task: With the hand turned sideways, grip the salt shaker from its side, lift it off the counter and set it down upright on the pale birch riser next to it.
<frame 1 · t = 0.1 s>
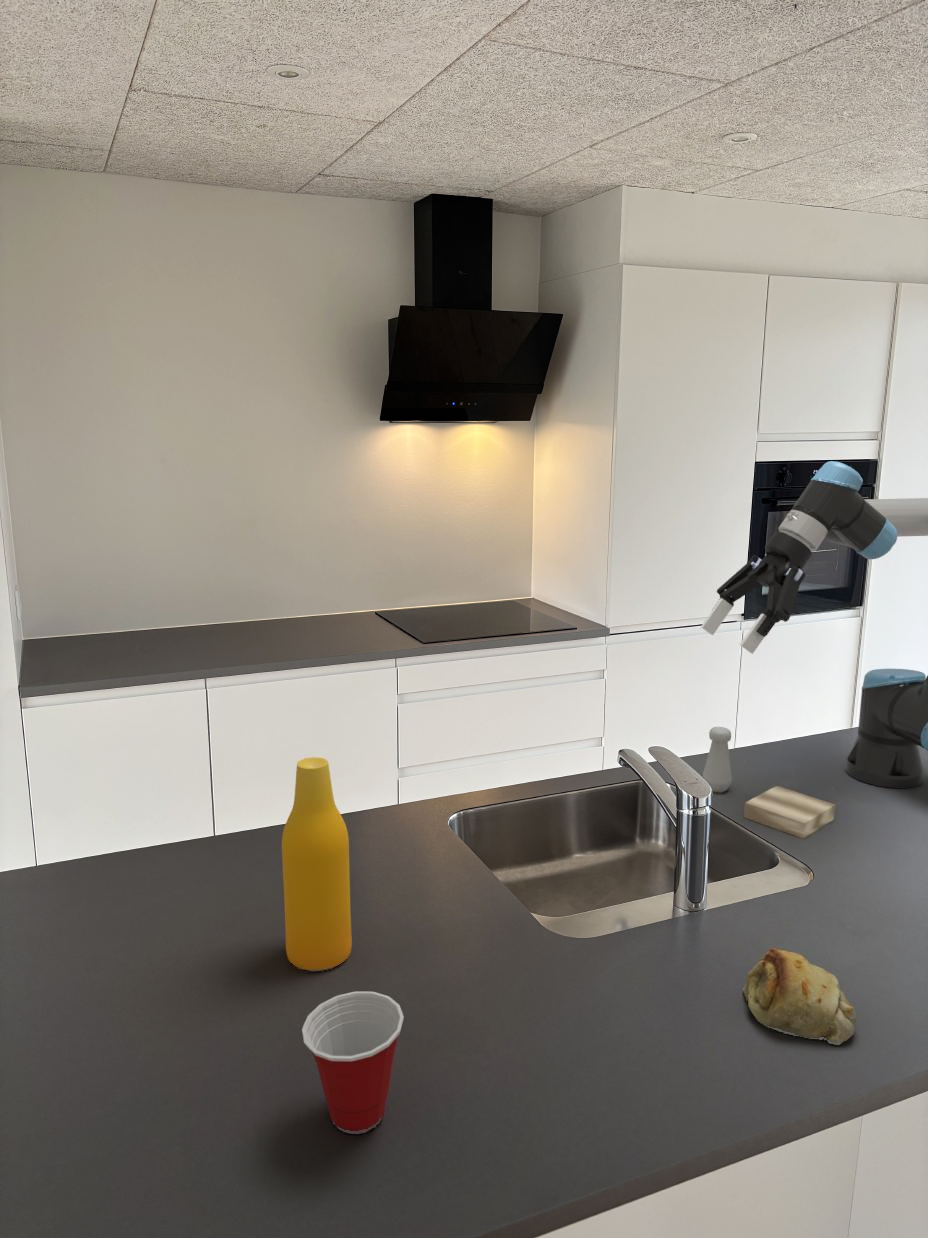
hand: (725, 640, 161), 36 cm above the counter, tool tilted 35°, fingers open, 13 cm apart
beer bottle: (319, 955, 128), on the counter
plastic cup: (355, 1117, 99), on the counter
salt shaker: (716, 789, 185), on the counter
pastry: (795, 1016, 116), on the counter
birch riser: (788, 818, 172), on the counter
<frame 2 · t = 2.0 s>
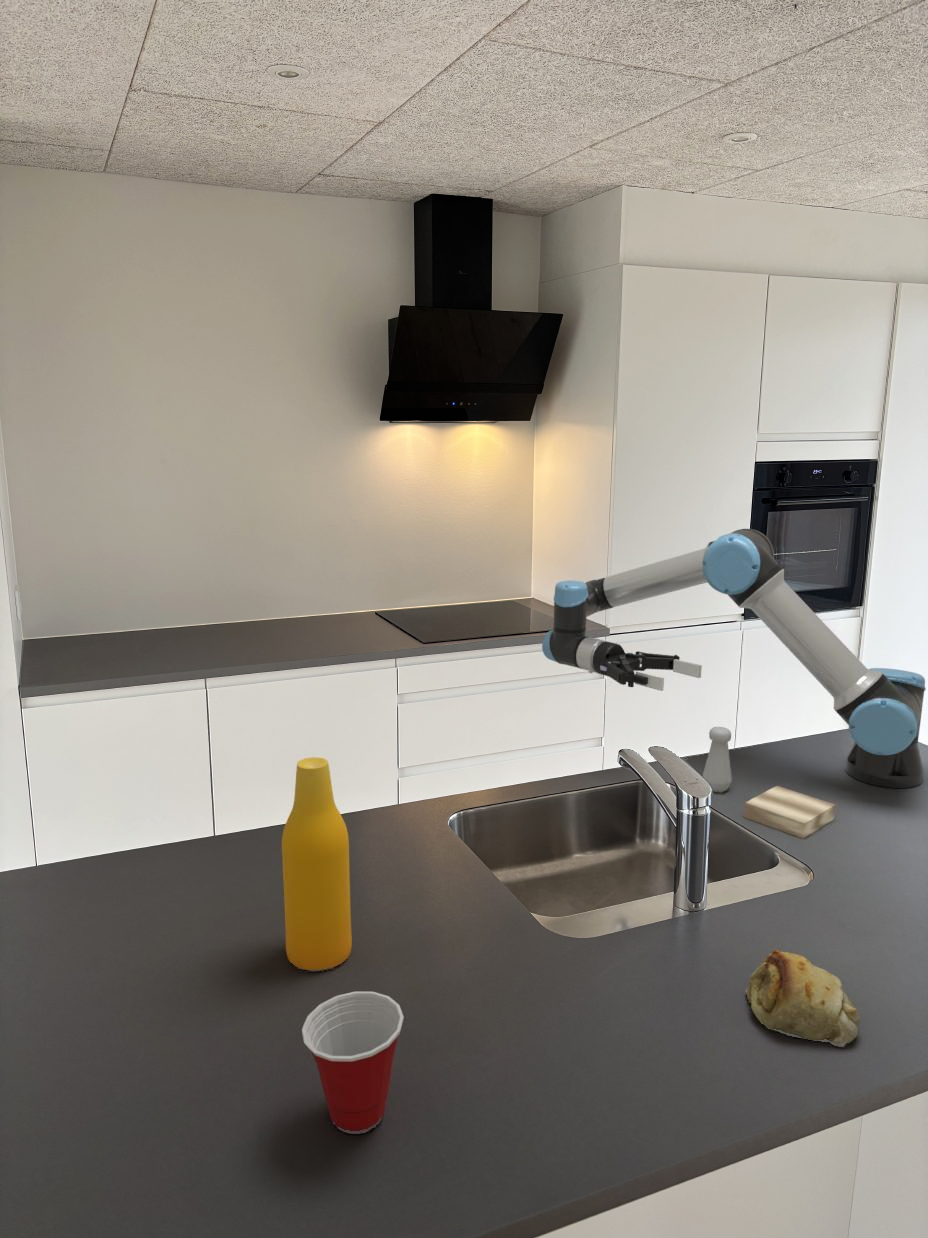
hand: (682, 677, 187), 22 cm above the counter, tool horizontal, fingers open, 13 cm apart
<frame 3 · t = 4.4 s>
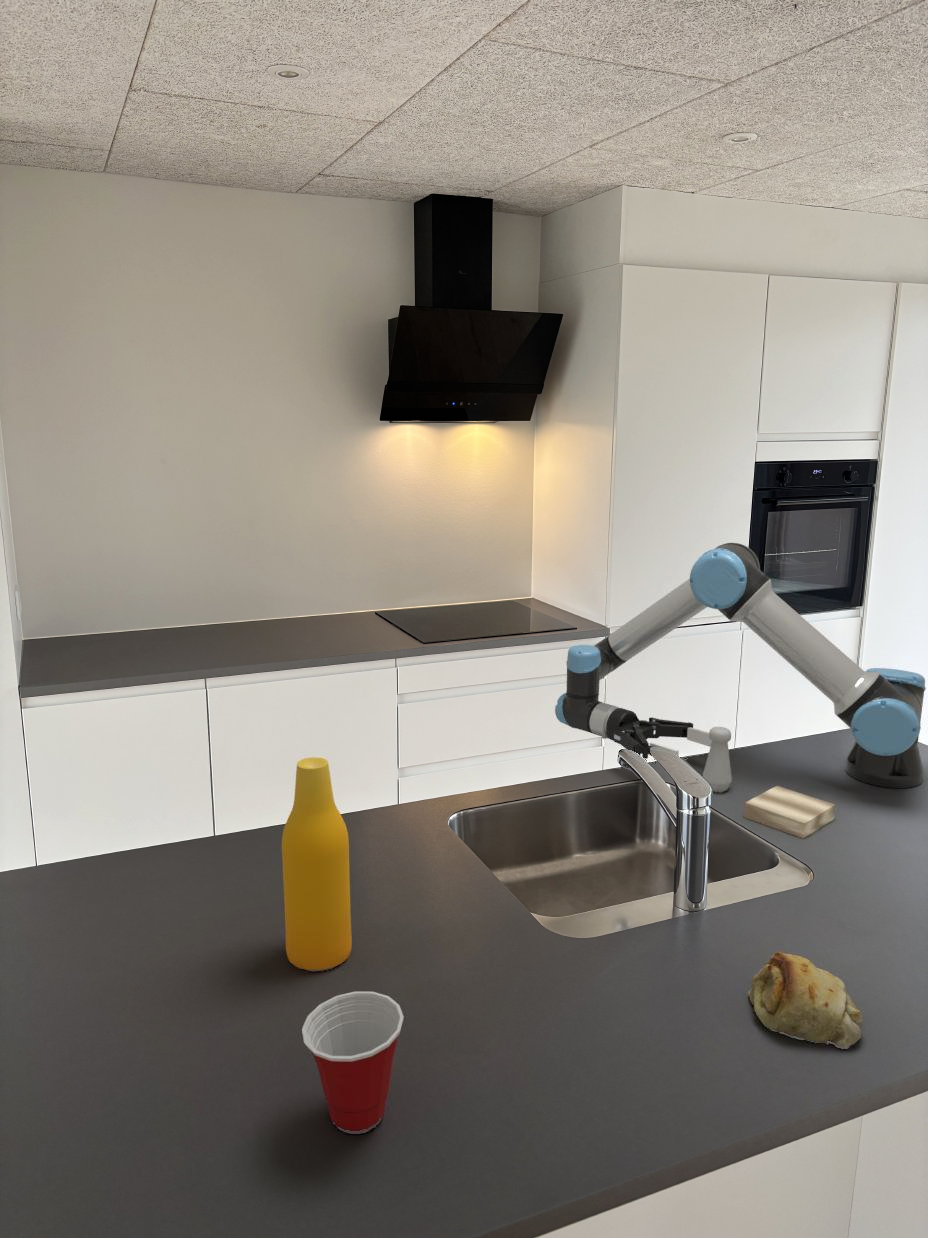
hand: (696, 749, 187), 7 cm above the counter, tool horizontal, fingers open, 13 cm apart
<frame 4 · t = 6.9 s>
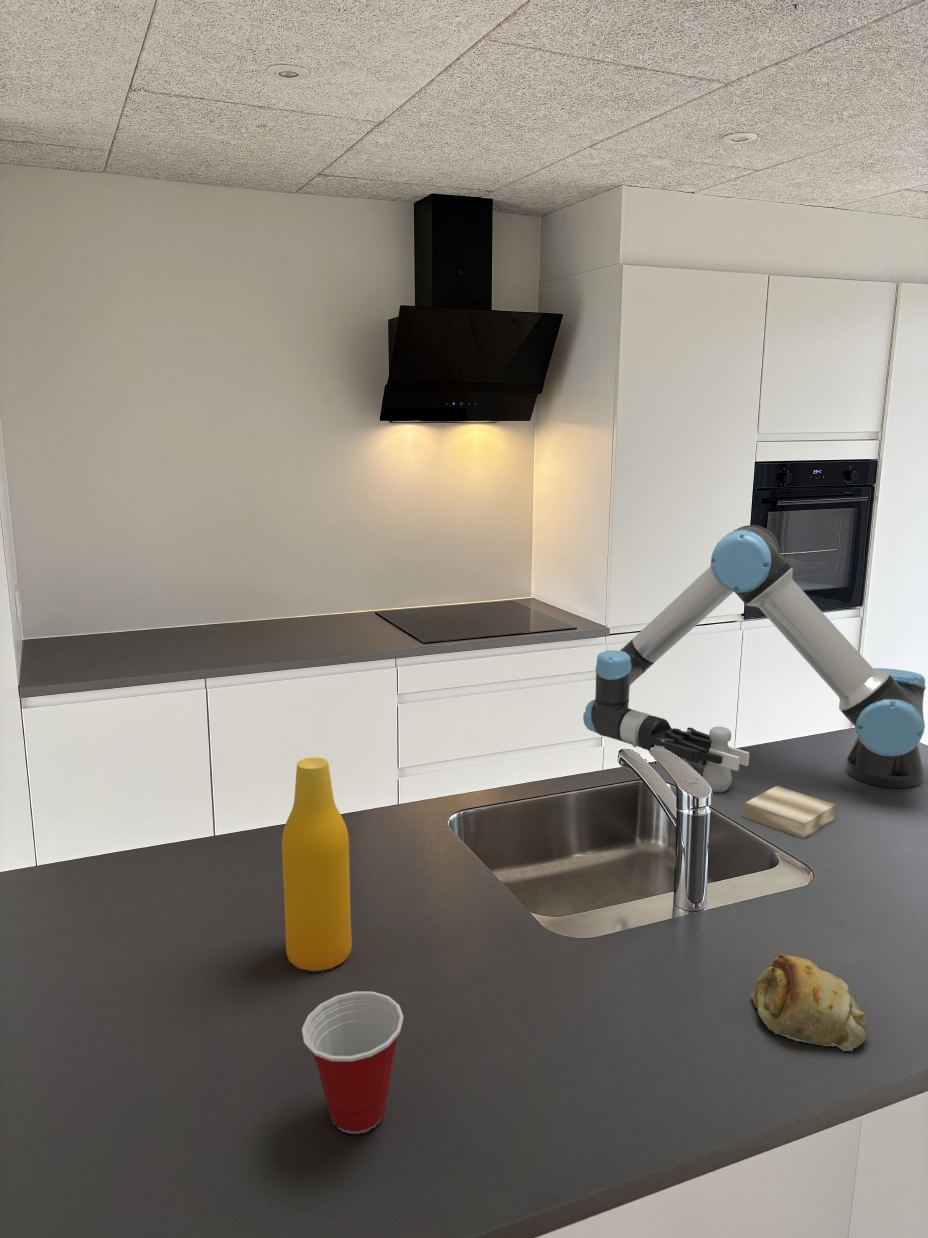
hand: (742, 761, 180), 8 cm above the counter, tool horizontal, fingers closed on salt shaker, 3 cm apart
salt shaker: (716, 789, 185), on the counter, touching gripper
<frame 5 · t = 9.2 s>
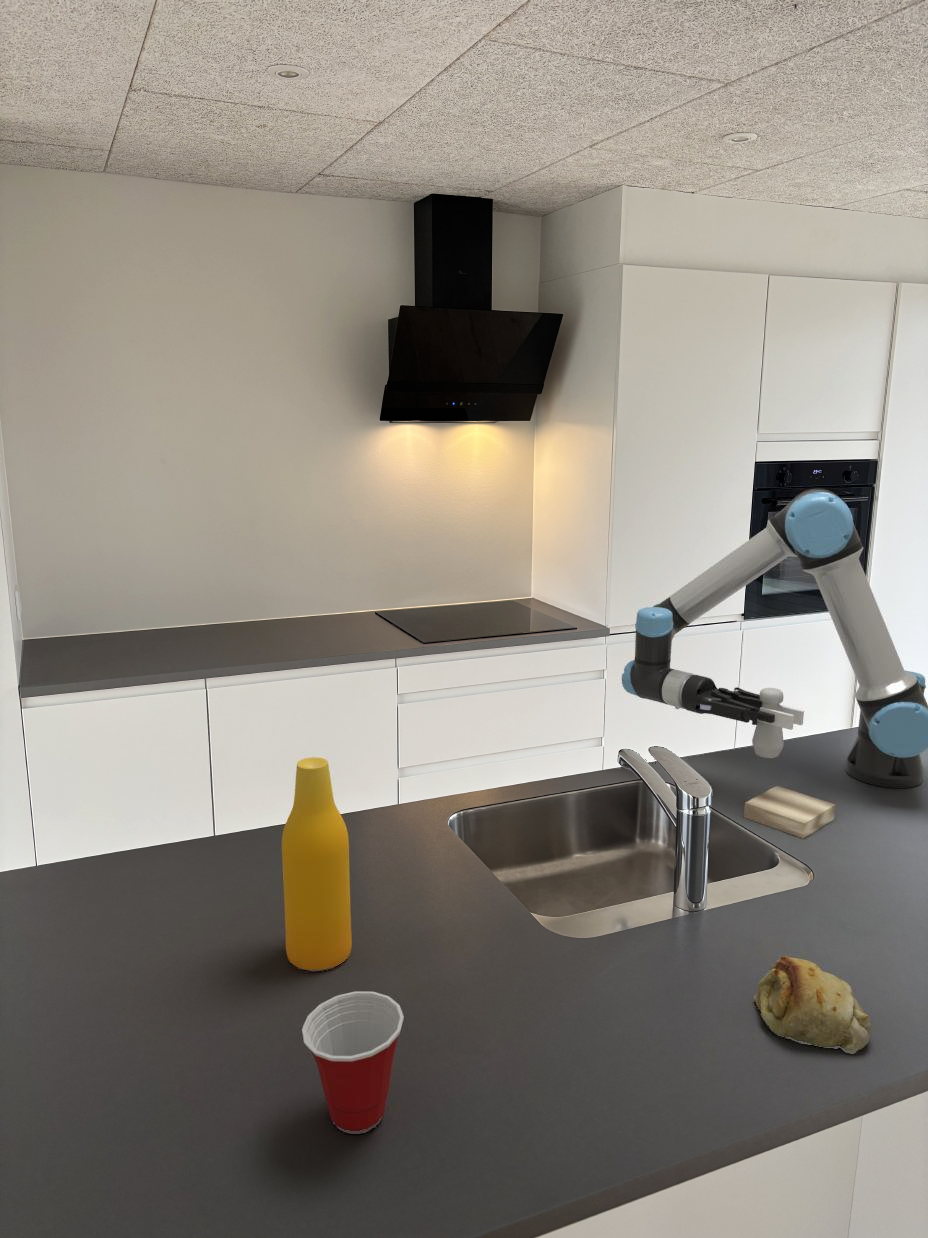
hand: (797, 720, 167), 20 cm above the counter, tool horizontal, fingers closed on salt shaker, 3 cm apart
salt shaker: (766, 755, 173), point 11 cm above the counter, touching gripper
when the fingers open (12 cm above the counter, at t = 11.7 s): salt shaker stays where it is, resting on birch riser.
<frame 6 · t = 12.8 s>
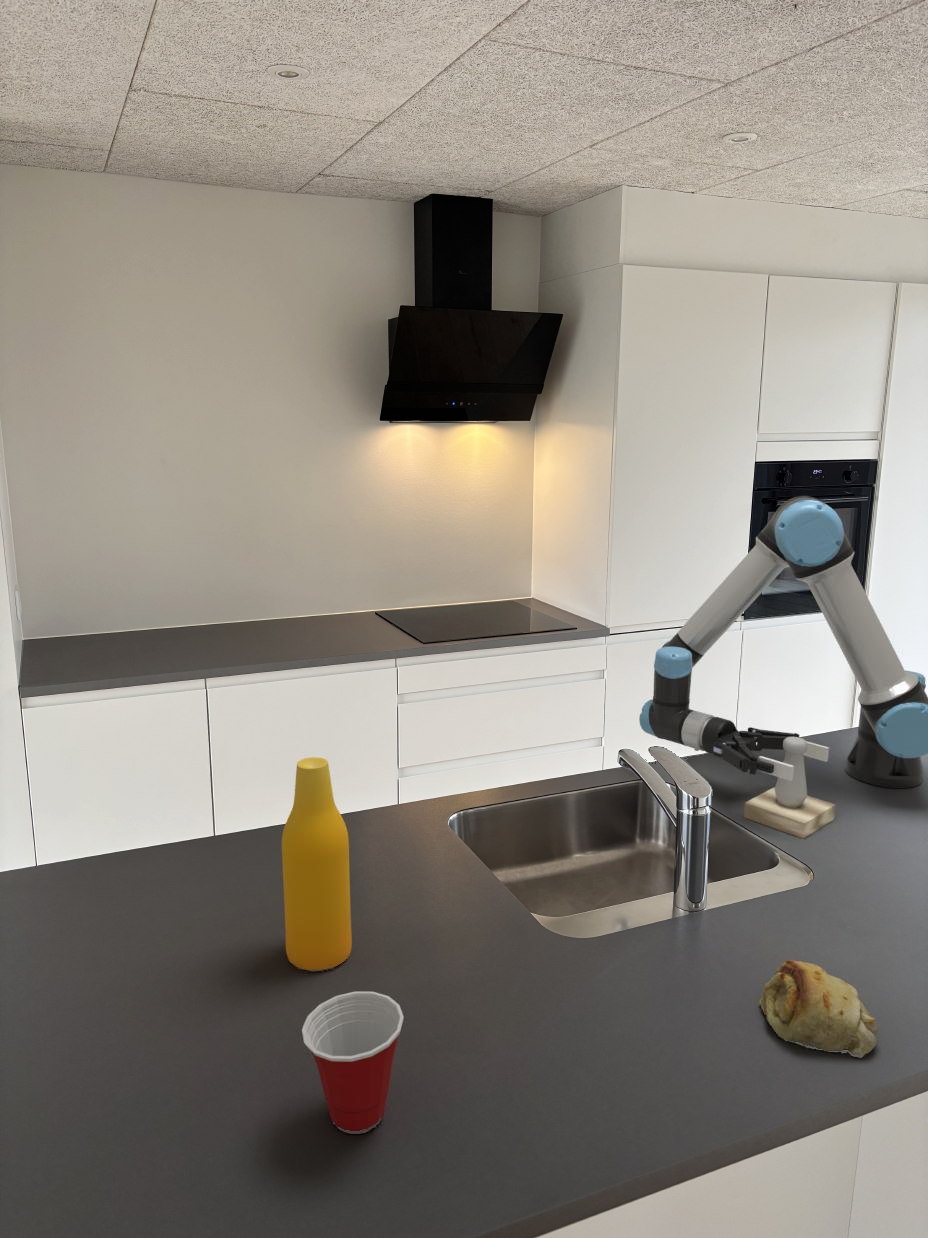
hand: (810, 763, 167), 12 cm above the counter, tool horizontal, fingers open, 13 cm apart
salt shaker: (789, 804, 171), point 3 cm above the counter, touching birch riser
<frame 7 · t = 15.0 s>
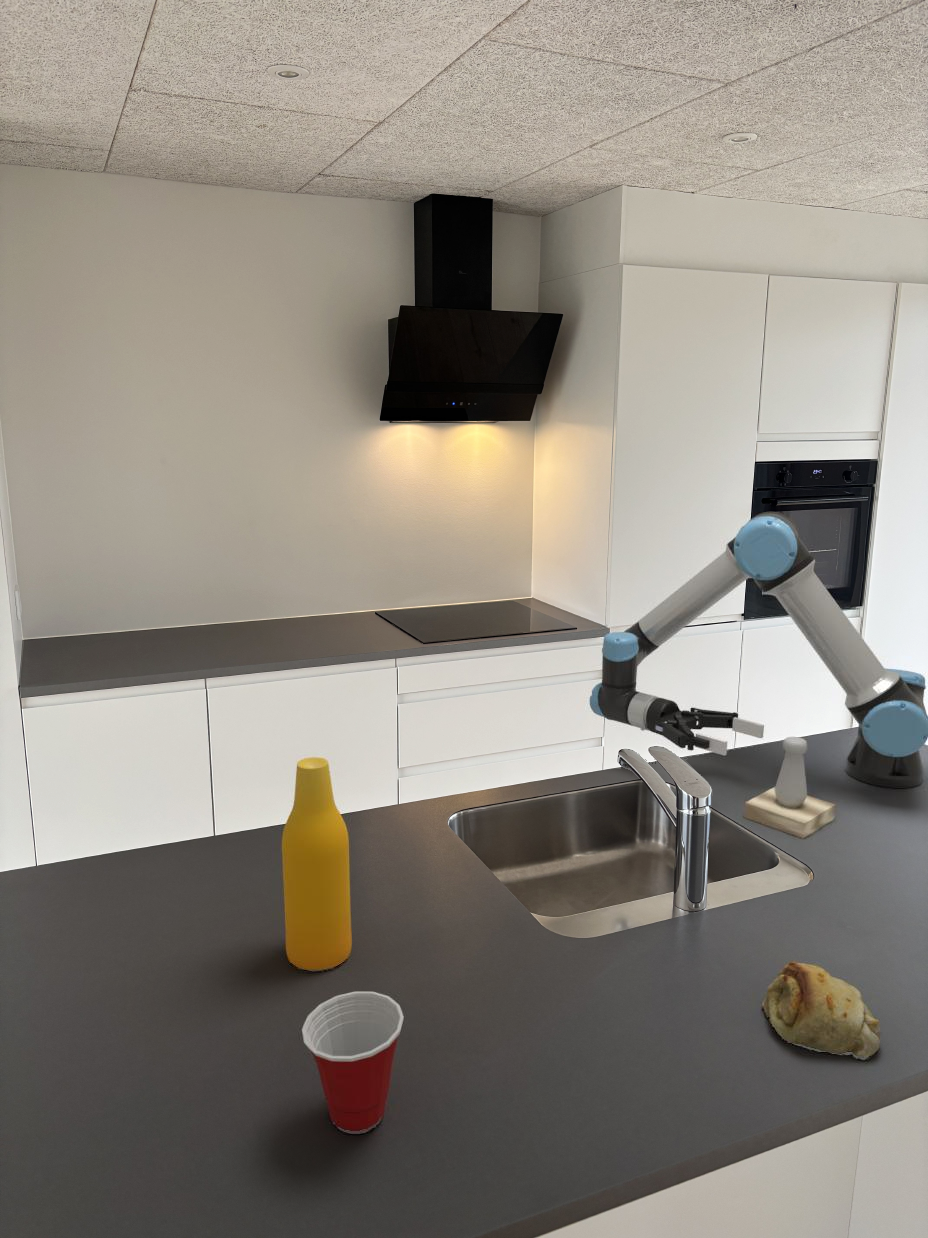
hand: (745, 740, 176), 13 cm above the counter, tool horizontal, fingers open, 13 cm apart
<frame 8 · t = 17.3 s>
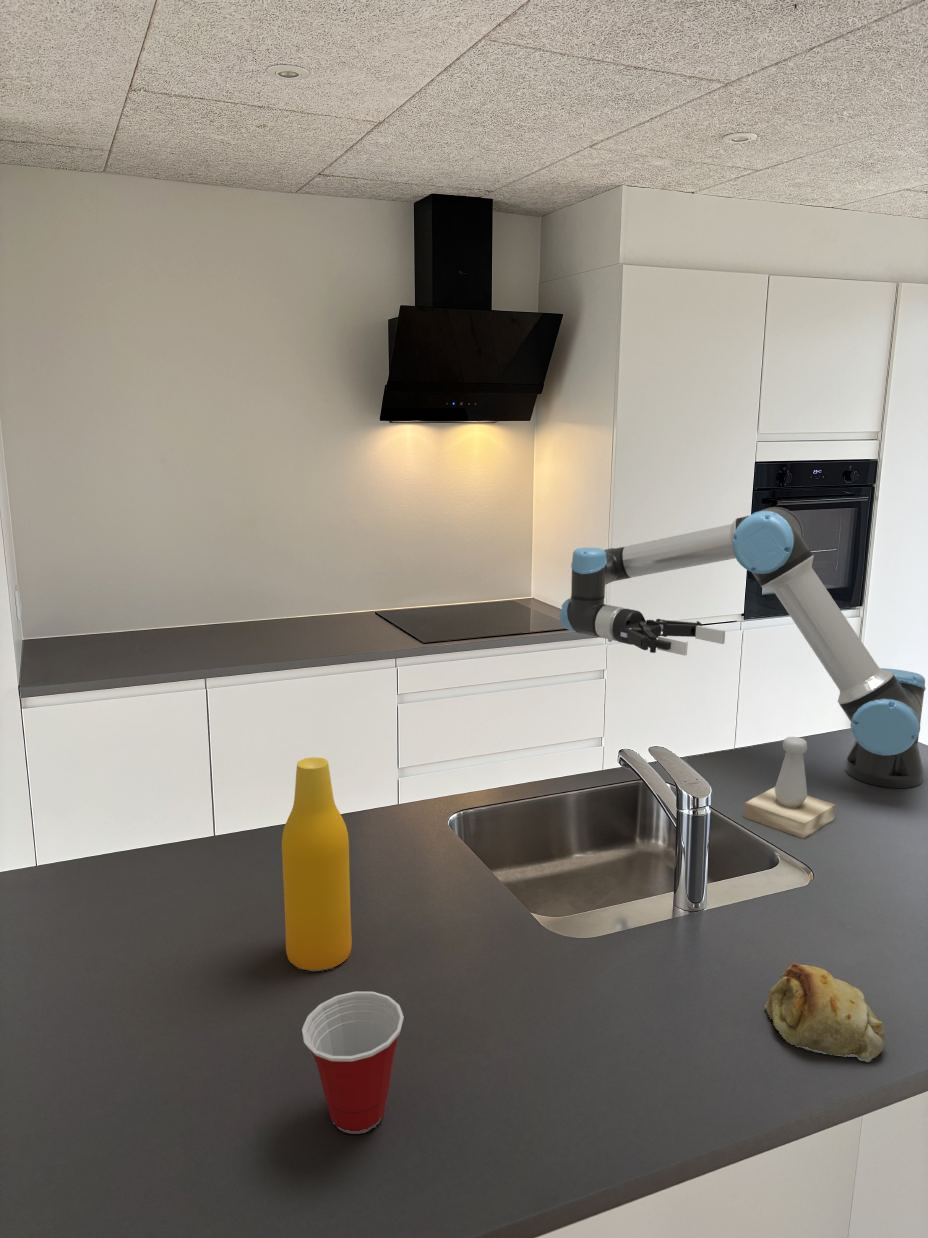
hand: (705, 643, 182), 30 cm above the counter, tool horizontal, fingers open, 13 cm apart
at the end: salt shaker inside the target area on the birch riser (0.1 cm from its centre), point 2.8 cm above the birch riser's base; salt shaker tilted 0°; the gripper is holding nothing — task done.
